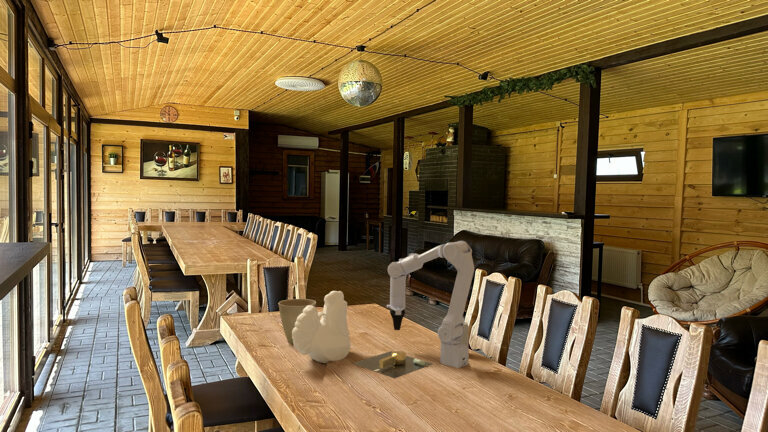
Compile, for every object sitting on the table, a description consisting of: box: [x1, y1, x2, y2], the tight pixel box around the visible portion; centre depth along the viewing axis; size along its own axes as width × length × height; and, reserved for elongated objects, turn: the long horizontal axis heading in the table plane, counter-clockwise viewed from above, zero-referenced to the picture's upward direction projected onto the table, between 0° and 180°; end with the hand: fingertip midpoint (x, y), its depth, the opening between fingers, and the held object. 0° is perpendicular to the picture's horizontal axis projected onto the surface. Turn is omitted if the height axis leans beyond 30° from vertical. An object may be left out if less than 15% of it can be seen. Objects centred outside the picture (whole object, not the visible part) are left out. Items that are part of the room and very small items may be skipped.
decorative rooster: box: [292, 290, 352, 364], centre depth 184 cm, size 25×16×25 cm, turn 129°
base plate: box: [351, 350, 433, 379], centre depth 178 cm, size 20×20×3 cm
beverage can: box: [461, 321, 470, 348], centre depth 195 cm, size 6×6×12 cm
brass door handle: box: [379, 350, 407, 368], centre depth 176 cm, size 12×5×3 cm, turn 141°
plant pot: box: [277, 298, 317, 345], centre depth 208 cm, size 15×15×16 cm
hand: (397, 329), depth 193 cm, fingers closed
